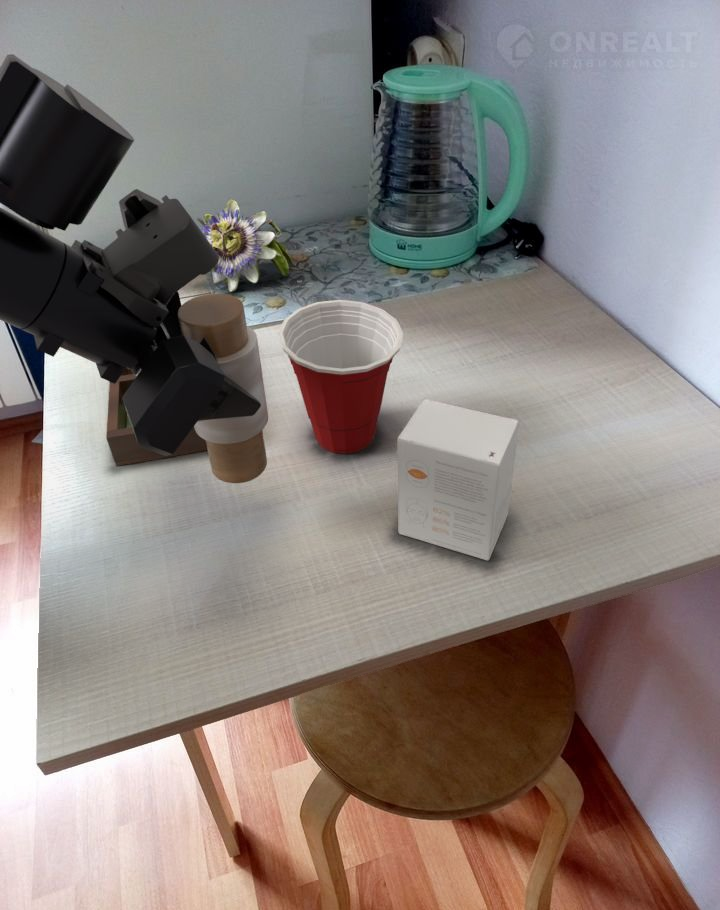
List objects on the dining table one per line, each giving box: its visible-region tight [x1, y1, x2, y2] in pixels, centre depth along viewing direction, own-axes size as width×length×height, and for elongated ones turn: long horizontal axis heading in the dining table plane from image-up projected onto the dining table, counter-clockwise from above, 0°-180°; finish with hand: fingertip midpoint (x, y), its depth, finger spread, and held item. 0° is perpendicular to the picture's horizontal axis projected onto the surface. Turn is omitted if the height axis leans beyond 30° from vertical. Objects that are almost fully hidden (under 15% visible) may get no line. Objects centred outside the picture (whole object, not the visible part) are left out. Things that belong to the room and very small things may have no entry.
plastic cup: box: [278, 299, 404, 455], centre depth 65 cm, size 11×11×12 cm
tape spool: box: [178, 293, 269, 484], centre depth 52 cm, size 6×6×14 cm
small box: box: [396, 398, 520, 561], centre depth 56 cm, size 8×6×10 cm
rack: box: [105, 368, 208, 467], centre depth 73 cm, size 19×10×4 cm, turn 13°
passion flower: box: [197, 198, 294, 293], centre depth 93 cm, size 11×11×12 cm
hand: (244, 388), depth 52 cm, fingers closed on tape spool, 5 cm apart
